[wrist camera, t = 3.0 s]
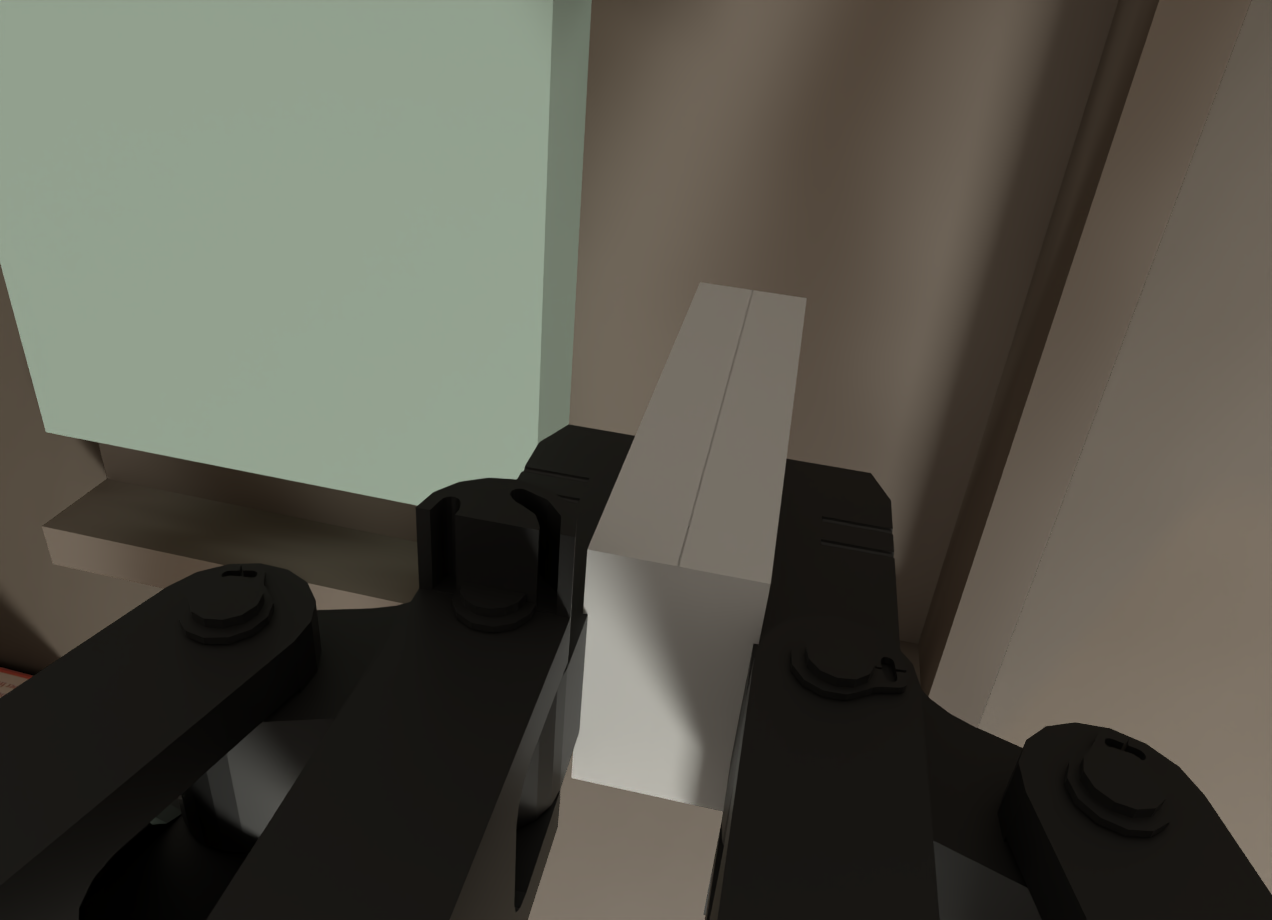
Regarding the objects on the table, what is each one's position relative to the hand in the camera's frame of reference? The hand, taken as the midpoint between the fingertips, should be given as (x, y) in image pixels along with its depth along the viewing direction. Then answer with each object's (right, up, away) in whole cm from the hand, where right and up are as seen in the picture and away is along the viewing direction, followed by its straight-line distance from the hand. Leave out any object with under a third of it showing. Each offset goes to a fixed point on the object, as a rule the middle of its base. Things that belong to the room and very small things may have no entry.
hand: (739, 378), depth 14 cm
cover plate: (-9, +5, +7) cm, 12 cm away
